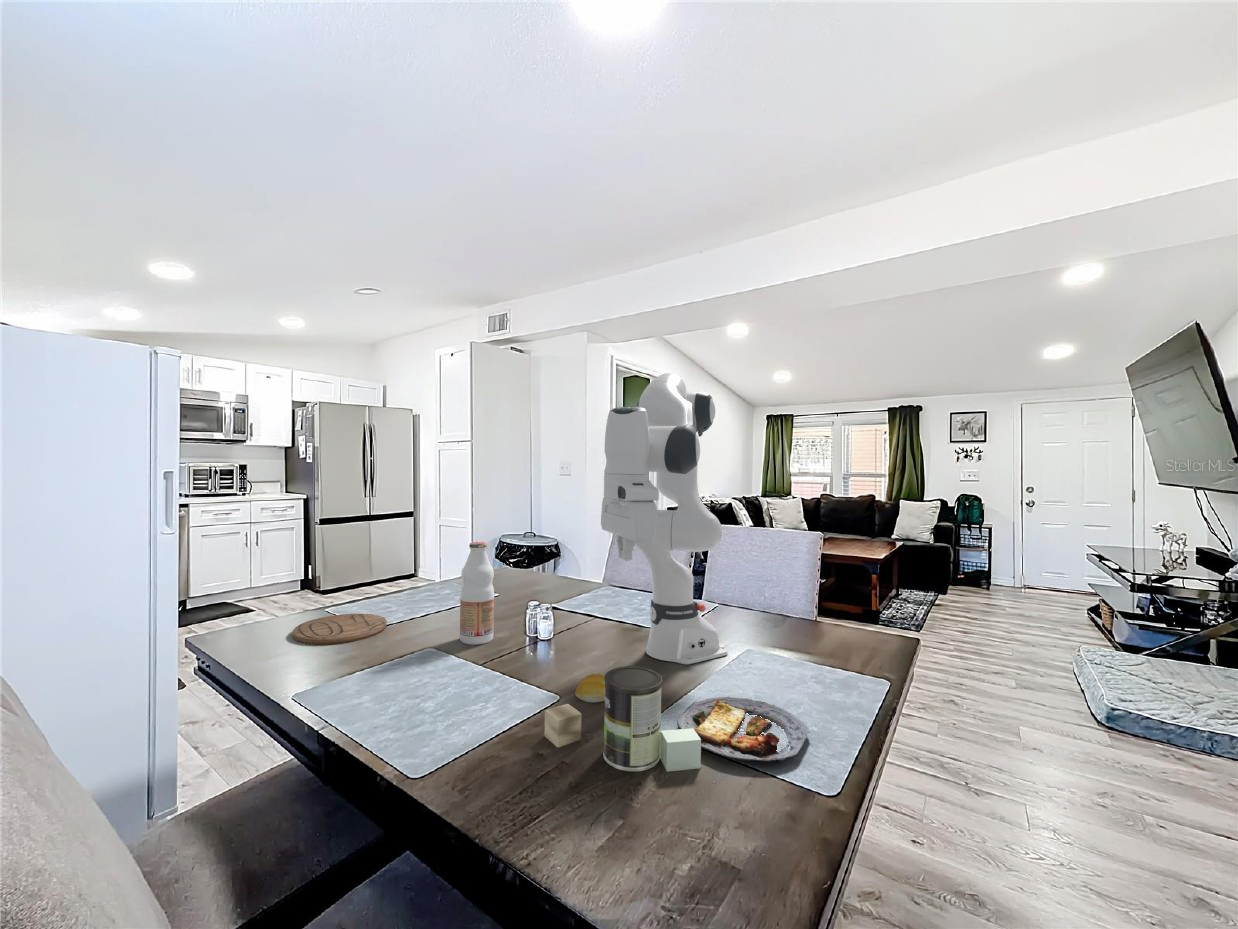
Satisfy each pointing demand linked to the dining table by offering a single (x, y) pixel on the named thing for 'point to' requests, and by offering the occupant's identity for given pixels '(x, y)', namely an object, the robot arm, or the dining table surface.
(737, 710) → the food plate
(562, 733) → the maple block
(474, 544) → the fruit juice
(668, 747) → the pale green block
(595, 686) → the bread roll
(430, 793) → the dining table surface
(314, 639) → the trivet
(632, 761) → the coffee can
